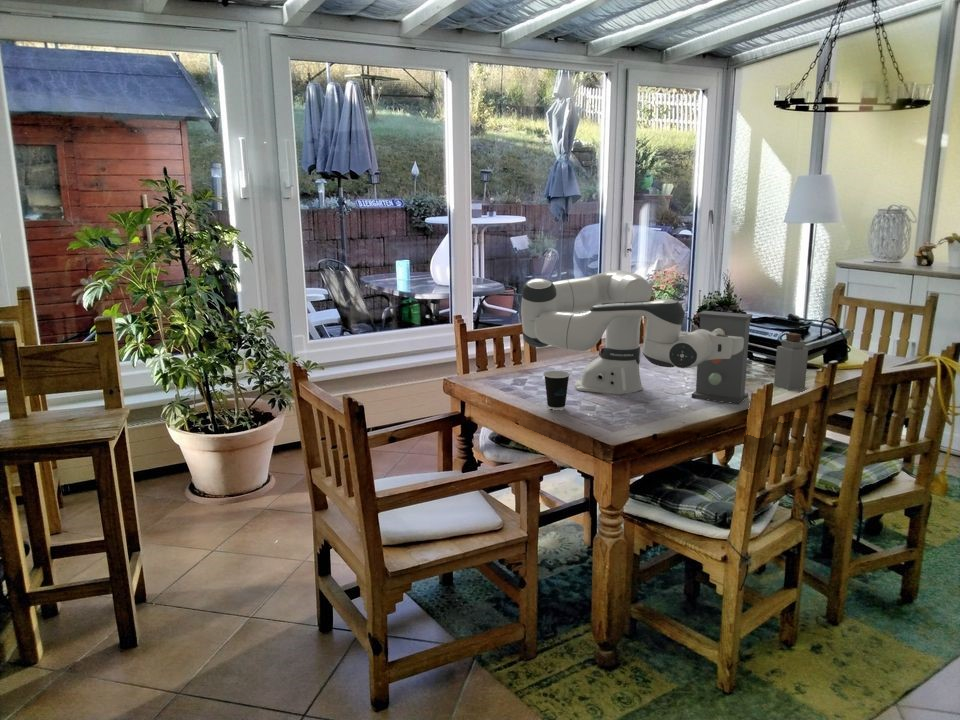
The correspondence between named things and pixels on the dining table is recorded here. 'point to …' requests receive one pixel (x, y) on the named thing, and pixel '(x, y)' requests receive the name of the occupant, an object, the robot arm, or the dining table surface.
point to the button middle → (716, 360)
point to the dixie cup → (556, 388)
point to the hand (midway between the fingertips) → (714, 336)
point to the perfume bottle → (791, 363)
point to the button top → (719, 331)
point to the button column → (727, 368)
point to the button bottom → (715, 378)
